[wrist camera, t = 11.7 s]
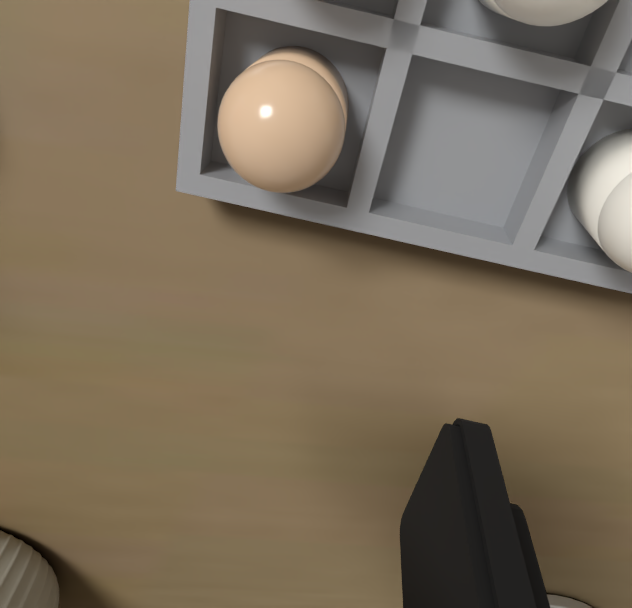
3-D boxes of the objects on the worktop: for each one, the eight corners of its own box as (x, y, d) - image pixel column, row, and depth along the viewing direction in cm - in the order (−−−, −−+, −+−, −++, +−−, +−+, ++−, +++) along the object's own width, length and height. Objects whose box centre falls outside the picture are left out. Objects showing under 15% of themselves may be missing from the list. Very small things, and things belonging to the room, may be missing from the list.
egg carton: (893, -117, 20) (1139, -156, 13) (655, 274, 28) (737, 363, 22) (234, -286, 19) (167, -412, 13) (194, 169, 27) (141, 230, 21)
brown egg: (360, 60, 23) (357, 89, 18) (335, 170, 26) (325, 224, 20) (248, 33, 23) (210, 54, 18) (233, 146, 26) (196, 195, 20)
